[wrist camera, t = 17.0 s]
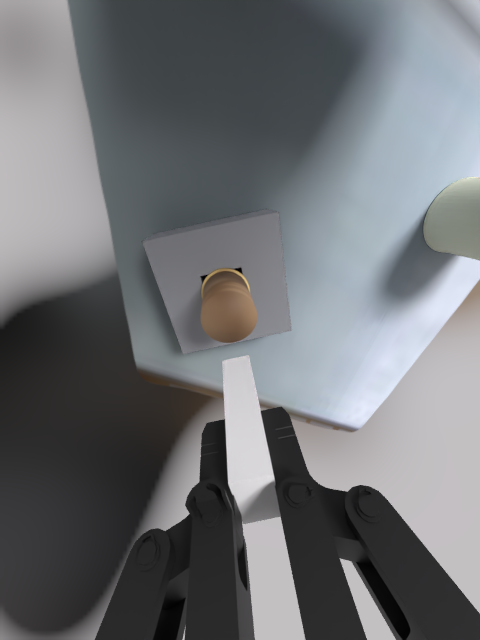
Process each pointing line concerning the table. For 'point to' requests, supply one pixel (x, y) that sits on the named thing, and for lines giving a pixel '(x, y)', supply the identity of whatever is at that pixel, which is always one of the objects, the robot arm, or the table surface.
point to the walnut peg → (227, 306)
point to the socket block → (214, 253)
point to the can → (455, 219)
